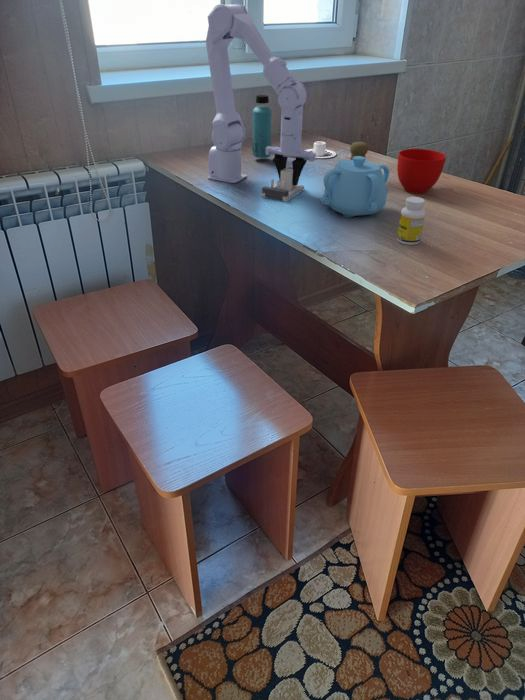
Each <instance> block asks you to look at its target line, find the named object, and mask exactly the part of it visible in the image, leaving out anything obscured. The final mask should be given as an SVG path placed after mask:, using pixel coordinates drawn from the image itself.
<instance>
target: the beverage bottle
mask: <svg viewBox="0 0 525 700" xmlns="http://www.w3.org/2000/svg"><path fill="white" fill-rule="evenodd" d="M269 102H270V101H269V95H267V94H257V95H256V96H255V103H256V104H268V103H269ZM272 113H273V110H272V109H271V108H270V107H269V106H268V105H267V106H266V105H257V106H255V107H254V108H253V109H252V149H251V151H252V156H253V157H254V158H258V159H267V158H270V157H271V156H272V155H266V147H268V146H271V147H272V115H273V114H272Z"/></svg>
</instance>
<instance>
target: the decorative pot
mask: <svg viewBox="0 0 525 700" xmlns="http://www.w3.org/2000/svg"><path fill="white" fill-rule="evenodd" d="M382 169H383V171H382ZM389 177H390V169H389V167H388V166H386V165H385V164H383V163H380V164H379V163H378V164H376V163H375V162H372V161H369V160H367V158H366V156H365V157H362V156H355V157H353V160H350V159H349V160H348V159H345V158H343V159H340V160H339V161H338V162H337V163H336V164H335V165H334V167H333V168H331V169H330V170H328V171H327V172H326V173H325V174H324V177H323V186H324V192H323V194H322V195H321V196H320V202H321V203H322V204H324V205H328V206H329V208H330V209H332V210H334V211H335V212H337V213H340V214H343V217H344V218H348V219H349V218H350V219H351V218H353V217H354V216H365V215H371V216H372V215H375V214H376V213H378V212H380V211H381V210H382V209H383V208H384V206H385V205H386V202H387V194H388V188H387V186H386V185H387V184H386V183H387V181H388V179H389Z"/></svg>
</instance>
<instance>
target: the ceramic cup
mask: <svg viewBox="0 0 525 700" xmlns="http://www.w3.org/2000/svg"><path fill="white" fill-rule="evenodd" d="M446 158H447V156H446V154H444V153H443V152H440V151H437V150H434V149H433V150H430V149H426V148H407V149H403V150H400V151H399V152H398V155H397V168H396V169H397V171H396V172H397V177H398V181H399V183H400V185H401V187H402V188H403V189H404V191H405V192H407V193H411V194H417V195H418V194H419V193H420V194H425V193H427V192H428V191H429V190H430V189H433V187H434V186H435V185H436V183H437V182H438V181H439V179H440V177H441V175H442V172H443V169H444V166H445V164H446V160H447V159H446Z"/></svg>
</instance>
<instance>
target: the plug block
mask: <svg viewBox="0 0 525 700" xmlns="http://www.w3.org/2000/svg"><path fill="white" fill-rule="evenodd" d="M283 181H286V184H285V190H288V191H289V192H290V191H292V190H293V189H295V188H296V187H298V186H299V185H298V184H299V183H298V184H297V185H295V186H294V185H293V166H286V168H284V169H283V170H281V176H280V188H279V189H282V186H283Z"/></svg>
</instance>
